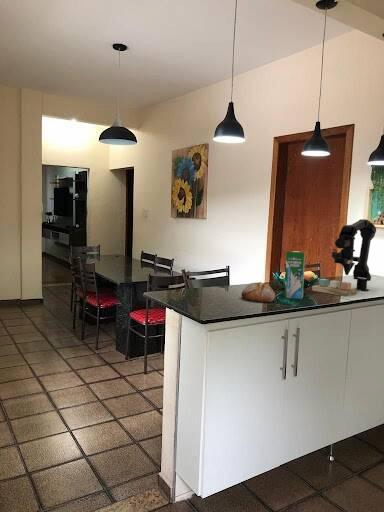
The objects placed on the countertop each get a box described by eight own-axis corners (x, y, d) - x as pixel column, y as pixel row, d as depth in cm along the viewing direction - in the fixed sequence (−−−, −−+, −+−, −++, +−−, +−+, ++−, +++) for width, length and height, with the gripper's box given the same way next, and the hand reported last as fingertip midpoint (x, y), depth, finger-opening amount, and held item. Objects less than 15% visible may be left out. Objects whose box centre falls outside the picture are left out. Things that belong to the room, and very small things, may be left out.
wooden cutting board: (322, 288, 251) (323, 284, 250) (357, 293, 234) (357, 289, 234) (311, 290, 243) (312, 286, 242) (346, 296, 226) (347, 291, 226)
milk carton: (303, 296, 223) (305, 250, 221) (301, 299, 215) (304, 252, 212) (286, 295, 226) (288, 250, 224) (284, 298, 218) (286, 251, 215)
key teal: (322, 284, 246) (322, 278, 246) (328, 285, 243) (328, 279, 243) (318, 285, 243) (319, 279, 243) (324, 286, 240) (325, 280, 240)
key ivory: (333, 286, 241) (333, 280, 241) (339, 287, 238) (339, 281, 238) (329, 287, 238) (329, 280, 238) (335, 288, 235) (336, 281, 235)
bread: (258, 306, 201) (258, 286, 200) (234, 299, 218) (234, 280, 216) (283, 301, 209) (283, 282, 208) (258, 294, 226) (258, 276, 225)
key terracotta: (344, 288, 236) (344, 281, 235) (350, 289, 233) (351, 282, 232) (340, 288, 233) (341, 282, 233) (347, 289, 230) (347, 283, 230)
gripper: (343, 246, 243) (341, 272, 244) (326, 247, 230) (325, 274, 232) (361, 247, 234) (359, 274, 236) (345, 248, 222) (343, 277, 224)
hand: (346, 275), depth 232 cm, fingers closed
